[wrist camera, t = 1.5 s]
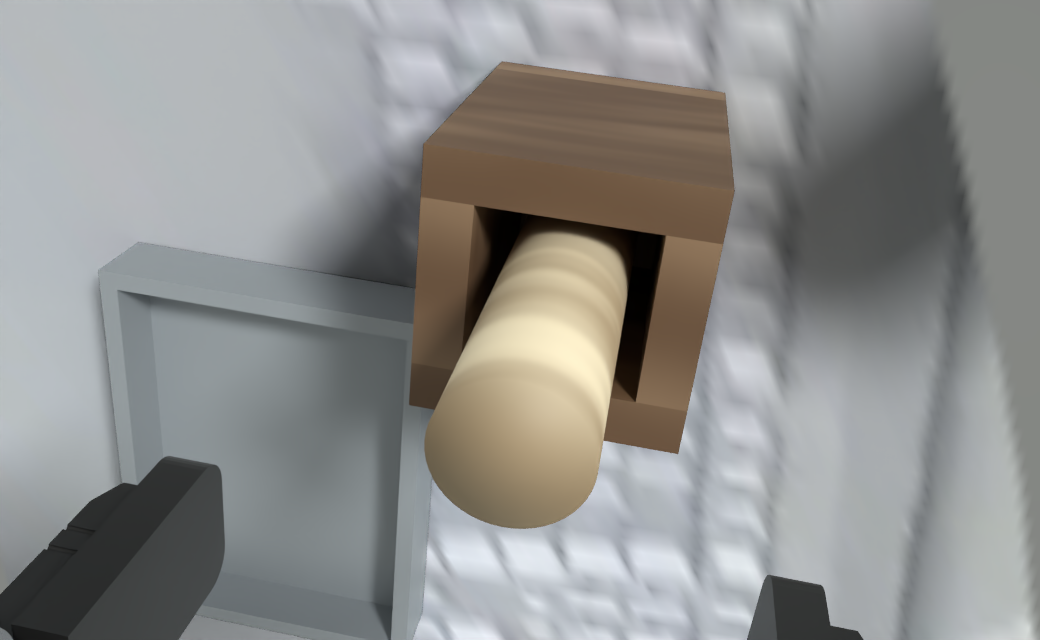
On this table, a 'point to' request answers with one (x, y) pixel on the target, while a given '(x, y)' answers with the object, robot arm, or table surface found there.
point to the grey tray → (281, 431)
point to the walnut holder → (583, 198)
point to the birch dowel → (535, 378)
